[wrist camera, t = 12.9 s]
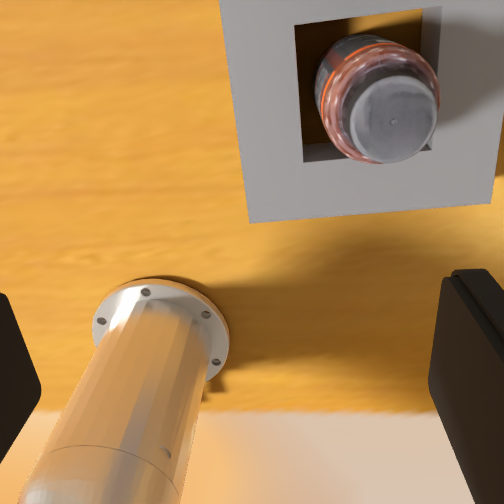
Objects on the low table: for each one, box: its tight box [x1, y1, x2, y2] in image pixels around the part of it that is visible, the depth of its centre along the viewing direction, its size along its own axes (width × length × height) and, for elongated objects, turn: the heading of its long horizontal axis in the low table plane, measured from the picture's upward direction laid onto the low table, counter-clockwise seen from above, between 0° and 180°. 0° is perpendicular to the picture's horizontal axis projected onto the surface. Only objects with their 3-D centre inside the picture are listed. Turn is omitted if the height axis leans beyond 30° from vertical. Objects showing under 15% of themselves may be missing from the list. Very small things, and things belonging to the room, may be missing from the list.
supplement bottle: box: [313, 34, 441, 164], centre depth 25 cm, size 6×6×11 cm
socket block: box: [219, 0, 504, 223], centre depth 28 cm, size 16×16×4 cm
